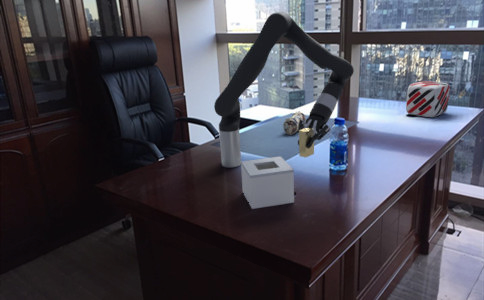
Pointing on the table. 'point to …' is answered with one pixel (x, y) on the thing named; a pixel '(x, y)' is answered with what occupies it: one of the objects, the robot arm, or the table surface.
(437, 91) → the decorative cube
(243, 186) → the box
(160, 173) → the table surface
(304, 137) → the tan rectangular block
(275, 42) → the robot arm
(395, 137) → the table surface
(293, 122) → the pencil case
